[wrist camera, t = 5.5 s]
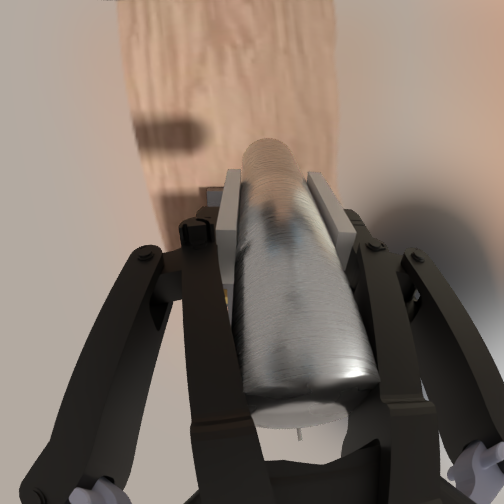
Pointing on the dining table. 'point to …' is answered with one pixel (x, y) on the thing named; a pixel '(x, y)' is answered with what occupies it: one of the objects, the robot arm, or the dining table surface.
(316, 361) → the silver metal cylinder
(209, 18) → the dining table surface
